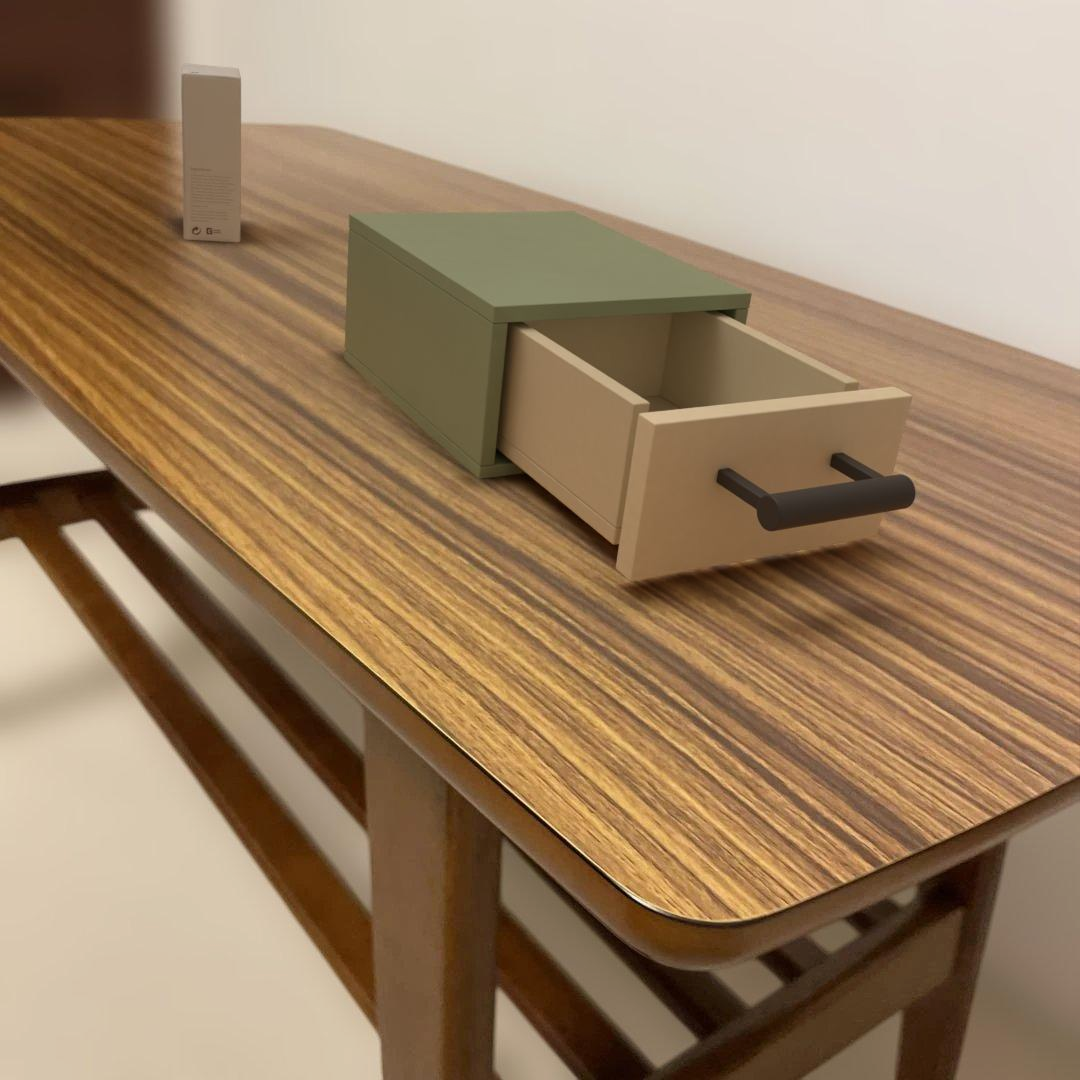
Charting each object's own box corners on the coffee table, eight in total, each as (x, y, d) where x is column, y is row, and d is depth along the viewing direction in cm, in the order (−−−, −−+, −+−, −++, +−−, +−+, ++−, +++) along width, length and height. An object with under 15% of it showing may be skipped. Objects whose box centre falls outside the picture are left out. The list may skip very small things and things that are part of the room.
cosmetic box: (242, 245, 93) (241, 77, 88) (183, 242, 92) (179, 72, 87) (240, 226, 98) (240, 66, 93) (184, 223, 97) (181, 61, 92)
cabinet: (723, 451, 66) (752, 293, 62) (478, 482, 59) (494, 306, 55) (558, 346, 79) (574, 211, 75) (343, 361, 72) (348, 213, 68)
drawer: (945, 579, 52) (988, 431, 49) (691, 634, 46) (722, 467, 43) (670, 407, 68) (690, 287, 65) (452, 430, 62) (462, 297, 59)
